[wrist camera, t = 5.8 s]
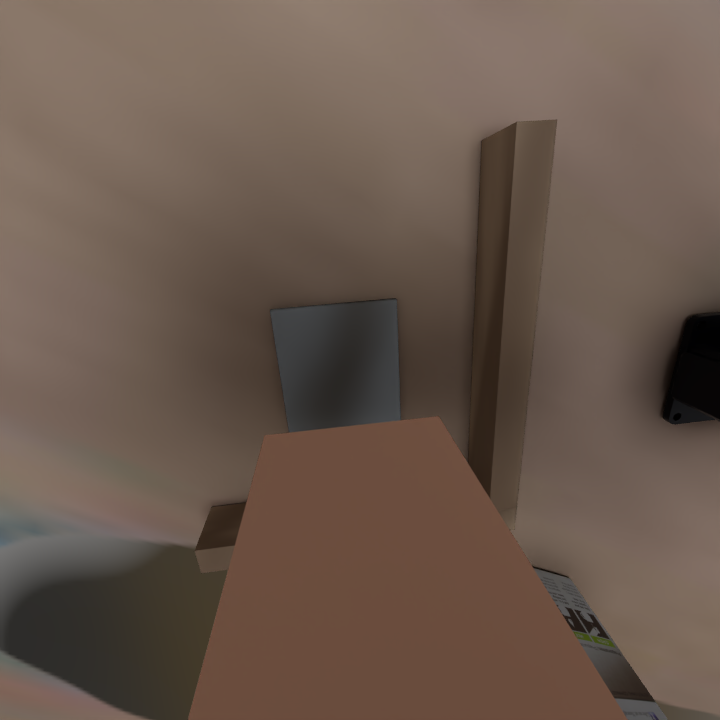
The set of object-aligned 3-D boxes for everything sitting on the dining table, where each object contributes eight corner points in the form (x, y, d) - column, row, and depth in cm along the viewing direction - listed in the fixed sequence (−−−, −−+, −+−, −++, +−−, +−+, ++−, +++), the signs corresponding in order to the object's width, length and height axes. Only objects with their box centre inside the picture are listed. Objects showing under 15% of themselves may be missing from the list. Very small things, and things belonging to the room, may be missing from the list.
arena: (515, 138, 16) (557, 119, 13) (490, 491, 22) (514, 529, 20) (120, 161, 15) (72, 145, 12) (217, 527, 21) (201, 573, 18)
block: (436, 622, 11) (558, 1041, 5) (302, 642, 11) (281, 1106, 5) (438, 416, 8) (669, 786, 3) (264, 435, 8) (141, 889, 3)
